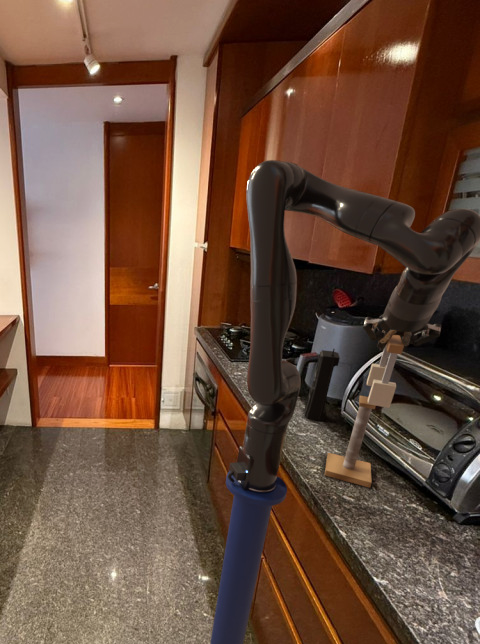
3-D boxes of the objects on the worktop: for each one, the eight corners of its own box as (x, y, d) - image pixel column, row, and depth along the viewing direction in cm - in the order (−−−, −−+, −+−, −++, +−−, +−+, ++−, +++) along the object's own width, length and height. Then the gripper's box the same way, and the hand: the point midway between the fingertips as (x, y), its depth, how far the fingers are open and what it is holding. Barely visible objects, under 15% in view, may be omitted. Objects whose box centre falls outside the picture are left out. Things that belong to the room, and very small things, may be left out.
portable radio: (303, 409, 138) (318, 341, 128) (323, 412, 135) (339, 343, 126) (304, 418, 131) (319, 348, 122) (324, 422, 129) (341, 350, 119)
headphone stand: (324, 475, 102) (343, 403, 94) (326, 457, 109) (344, 389, 101) (370, 487, 97) (394, 413, 89) (369, 468, 104) (391, 397, 96)
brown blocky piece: (367, 404, 87) (385, 344, 81) (366, 382, 99) (382, 329, 93) (389, 408, 85) (409, 347, 80) (385, 385, 97) (402, 331, 91)
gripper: (461, 291, 73) (430, 339, 87) (372, 285, 79) (357, 330, 94) (456, 324, 70) (425, 368, 85) (366, 315, 77) (351, 357, 92)
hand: (389, 348), depth 89 cm, fingers closed on brown blocky piece, 2 cm apart
